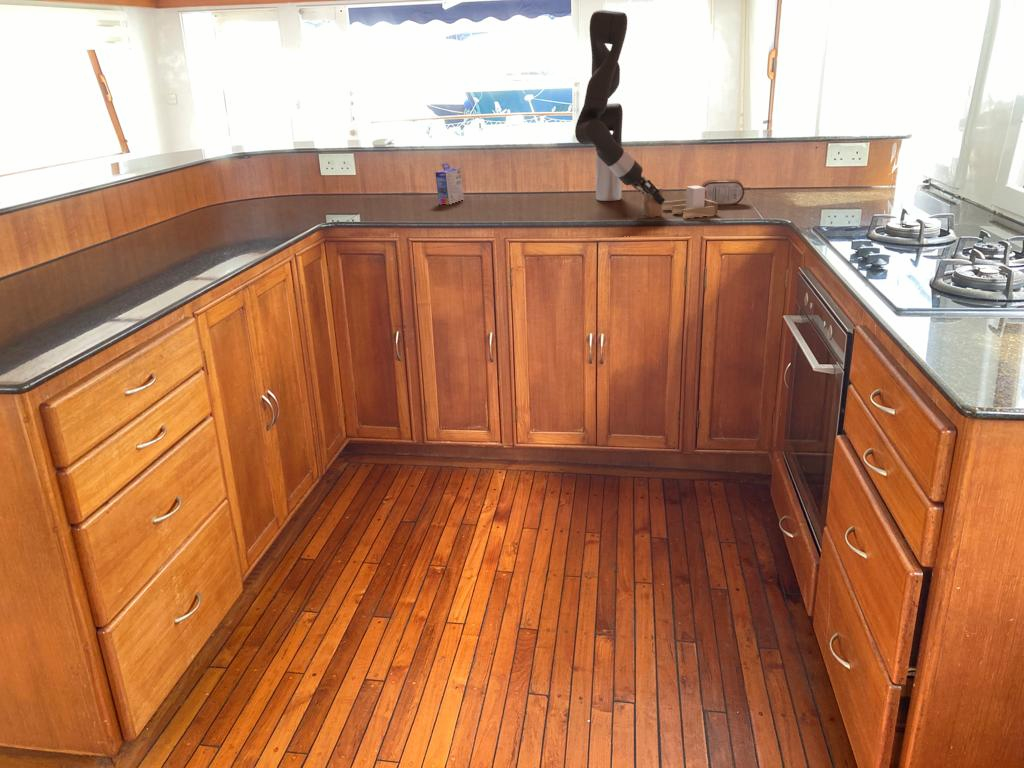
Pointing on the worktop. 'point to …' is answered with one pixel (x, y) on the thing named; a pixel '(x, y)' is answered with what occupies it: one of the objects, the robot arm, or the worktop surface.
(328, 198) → the worktop surface
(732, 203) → the tin
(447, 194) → the ink cartridge box
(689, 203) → the white block
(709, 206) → the rack
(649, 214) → the tan block
